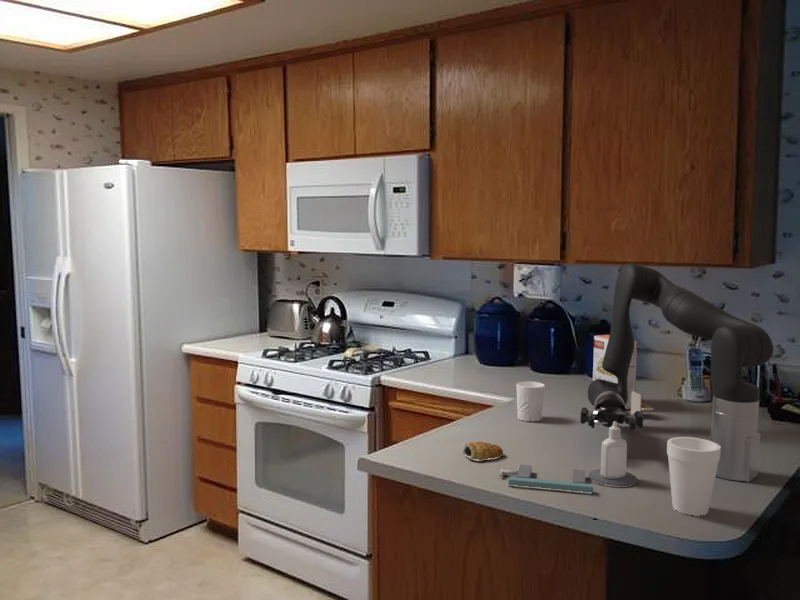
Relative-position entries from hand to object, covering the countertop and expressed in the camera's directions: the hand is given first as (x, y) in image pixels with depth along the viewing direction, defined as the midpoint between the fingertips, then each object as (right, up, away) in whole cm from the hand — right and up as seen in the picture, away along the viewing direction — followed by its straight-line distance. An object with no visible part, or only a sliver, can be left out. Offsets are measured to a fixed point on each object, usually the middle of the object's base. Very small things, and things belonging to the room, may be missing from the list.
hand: (612, 425), depth 167 cm
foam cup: (+7, -12, -26) cm, 30 cm away
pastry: (-30, -9, +5) cm, 31 cm away
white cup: (-12, -5, +39) cm, 42 cm away
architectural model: (+20, -6, +44) cm, 49 cm away
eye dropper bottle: (-3, -10, -10) cm, 14 cm away
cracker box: (+17, -4, +57) cm, 60 cm away
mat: (-3, -10, -10) cm, 14 cm away
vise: (-18, -10, -11) cm, 23 cm away
